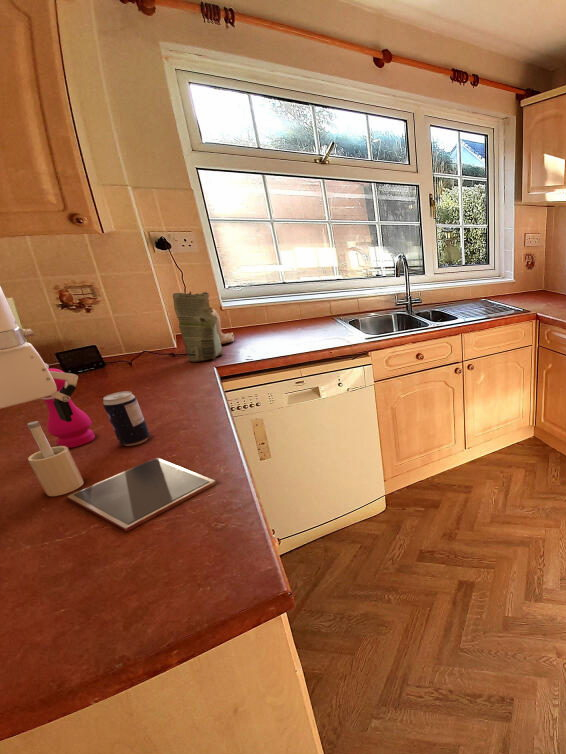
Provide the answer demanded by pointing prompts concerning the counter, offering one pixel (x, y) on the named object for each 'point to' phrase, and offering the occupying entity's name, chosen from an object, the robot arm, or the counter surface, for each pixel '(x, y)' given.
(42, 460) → the pen pot
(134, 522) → the tablet
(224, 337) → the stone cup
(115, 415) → the beverage can
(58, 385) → the pepper mill
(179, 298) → the pouch
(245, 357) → the counter surface
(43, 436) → the stylus
